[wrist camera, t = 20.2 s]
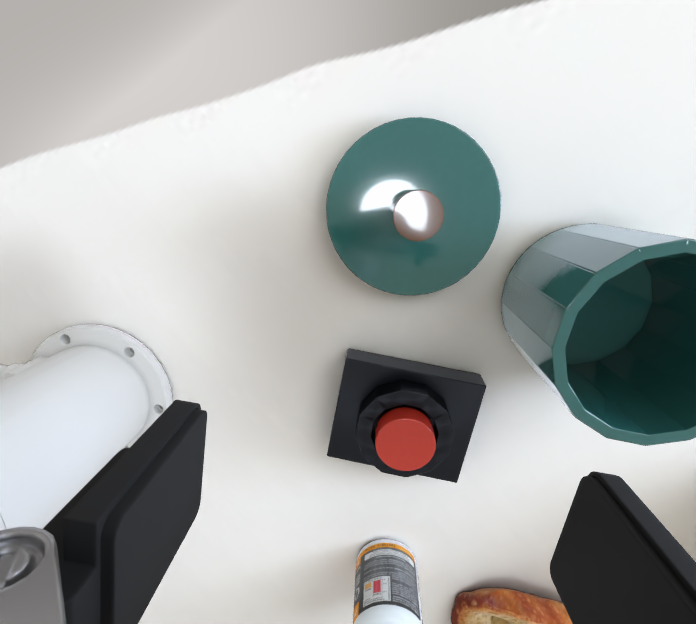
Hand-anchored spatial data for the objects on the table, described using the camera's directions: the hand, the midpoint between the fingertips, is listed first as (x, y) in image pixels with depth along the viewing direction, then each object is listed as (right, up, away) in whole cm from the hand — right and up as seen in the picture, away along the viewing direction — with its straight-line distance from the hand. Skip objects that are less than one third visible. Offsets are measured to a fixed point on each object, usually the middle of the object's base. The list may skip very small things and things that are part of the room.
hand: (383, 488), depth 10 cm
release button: (+3, -5, +22) cm, 23 cm away
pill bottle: (+3, -19, +30) cm, 36 cm away
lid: (+4, +12, +21) cm, 24 cm away
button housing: (+4, -4, +26) cm, 26 cm away
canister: (+17, +5, +22) cm, 28 cm away
